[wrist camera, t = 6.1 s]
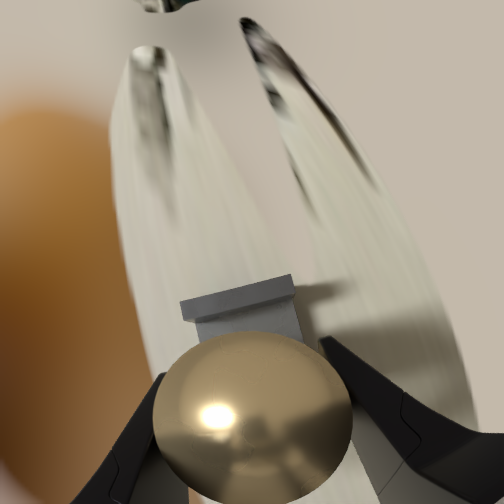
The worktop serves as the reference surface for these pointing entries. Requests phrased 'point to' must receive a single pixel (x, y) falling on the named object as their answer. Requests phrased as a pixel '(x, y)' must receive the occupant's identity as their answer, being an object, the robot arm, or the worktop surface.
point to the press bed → (246, 310)
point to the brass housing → (252, 418)
